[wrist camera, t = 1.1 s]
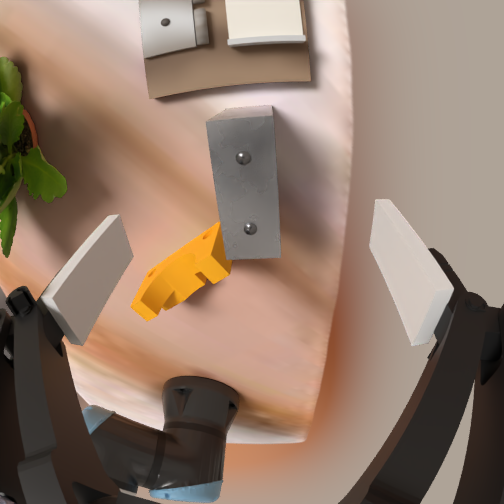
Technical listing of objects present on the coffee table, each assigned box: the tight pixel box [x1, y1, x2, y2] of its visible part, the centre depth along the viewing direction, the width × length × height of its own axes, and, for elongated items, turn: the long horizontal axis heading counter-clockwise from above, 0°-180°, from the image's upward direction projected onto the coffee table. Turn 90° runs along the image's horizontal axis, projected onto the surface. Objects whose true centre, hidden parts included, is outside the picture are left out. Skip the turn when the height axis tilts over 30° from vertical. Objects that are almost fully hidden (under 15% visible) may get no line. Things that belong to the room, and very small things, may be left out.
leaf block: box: [206, 105, 281, 260], centre depth 22 cm, size 10×4×9 cm, turn 5°
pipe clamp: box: [130, 222, 232, 321], centre depth 30 cm, size 12×4×6 cm, turn 126°
